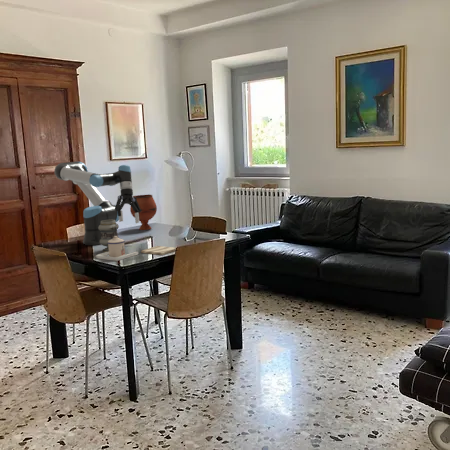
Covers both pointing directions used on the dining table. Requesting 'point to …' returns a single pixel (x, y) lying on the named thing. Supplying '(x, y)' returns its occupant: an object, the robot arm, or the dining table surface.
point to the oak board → (159, 250)
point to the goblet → (145, 210)
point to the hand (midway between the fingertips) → (129, 222)
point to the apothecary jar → (107, 232)
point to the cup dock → (103, 256)
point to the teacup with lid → (116, 247)
